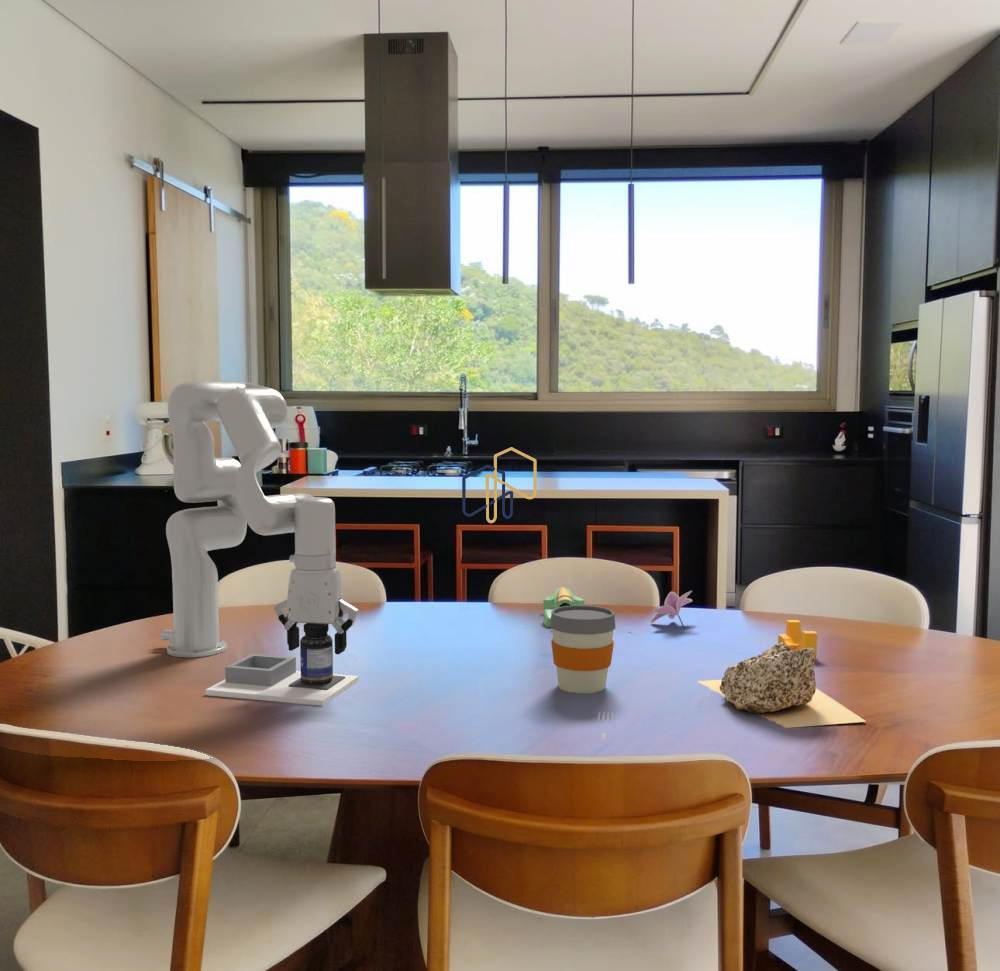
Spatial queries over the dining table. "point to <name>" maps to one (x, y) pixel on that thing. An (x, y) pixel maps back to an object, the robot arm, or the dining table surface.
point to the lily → (672, 606)
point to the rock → (781, 689)
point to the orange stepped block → (798, 637)
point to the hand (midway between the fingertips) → (316, 650)
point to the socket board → (276, 682)
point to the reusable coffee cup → (582, 646)
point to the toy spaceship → (559, 603)
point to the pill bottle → (316, 654)
